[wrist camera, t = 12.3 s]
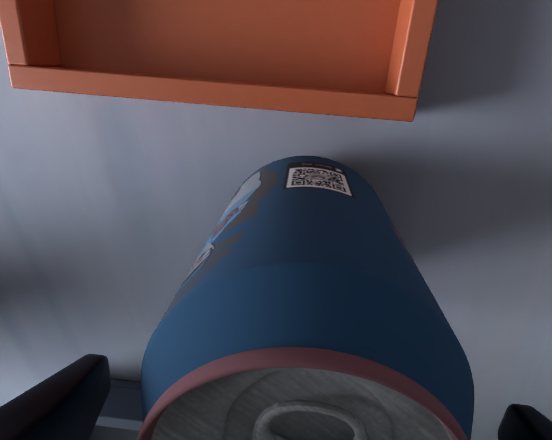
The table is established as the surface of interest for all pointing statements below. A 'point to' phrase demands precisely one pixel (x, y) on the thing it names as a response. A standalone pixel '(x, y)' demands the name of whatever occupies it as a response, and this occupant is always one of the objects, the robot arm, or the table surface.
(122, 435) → the grey tray
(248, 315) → the soda can
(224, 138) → the table surface
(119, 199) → the table surface
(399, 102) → the terracotta tray
